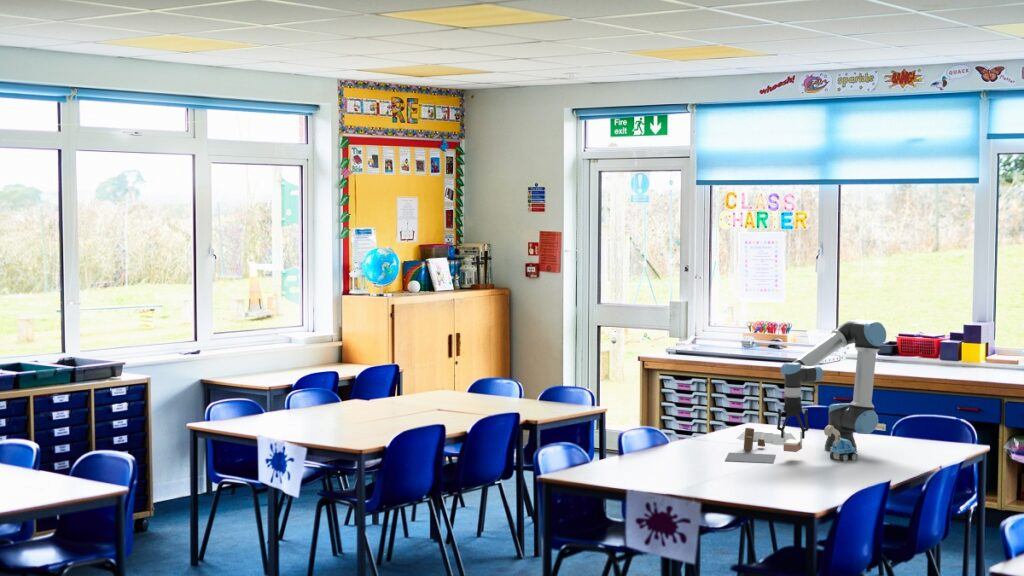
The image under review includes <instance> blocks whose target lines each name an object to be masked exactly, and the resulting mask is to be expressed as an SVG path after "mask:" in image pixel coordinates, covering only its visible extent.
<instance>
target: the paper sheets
mask: <svg viewBox="0 0 1024 576" xmlns="http://www.w3.org/2000/svg"><path fill="white" fill-rule="evenodd" d="M753 429H754V438H753V442H758V439H762V440H764V442H765V443H772V444H774V445H781V446H782V445H783V446H784V438H781V431H780V430H777V429H769V428H753ZM784 431H785V441H787V440H789V439H794V440H797V438H796V437H795V436H794V435H793V434H792V433H791V432H790V431H788V430H784ZM744 438H745V431H743V432H741V434H739V436H737V437H736V439H738V440H742V441H744Z"/></svg>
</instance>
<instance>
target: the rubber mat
mask: <svg viewBox="0 0 1024 576" xmlns="http://www.w3.org/2000/svg"><path fill="white" fill-rule="evenodd" d="M775 459H776V454H772V453H771V454H770V453H769V454H767V453H745V452H728V453H727V456H726V457H725V459H724V462H730V463H731V462H732V463H753V464H754V463H755V464H772V465H774V462H775Z"/></svg>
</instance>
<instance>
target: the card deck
mask: <svg viewBox="0 0 1024 576" xmlns="http://www.w3.org/2000/svg"><path fill="white" fill-rule="evenodd" d="M802 449H803V445H802V446H800V439H796V440H794V439H789V440H787V441H785V442H784V445H783V452H792V453H797V452H799V451H801V450H802Z"/></svg>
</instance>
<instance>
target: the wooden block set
mask: <svg viewBox="0 0 1024 576" xmlns="http://www.w3.org/2000/svg"><path fill="white" fill-rule="evenodd" d="M754 429H755V428H753V427H745V429H744V432H745V438H744V440H743V450H745V451H753V447H754V441H753V438H754ZM765 443H766V442H764V440H762V439H758V441H757V446H758V447H764V448H765V447H766V444H765Z"/></svg>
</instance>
